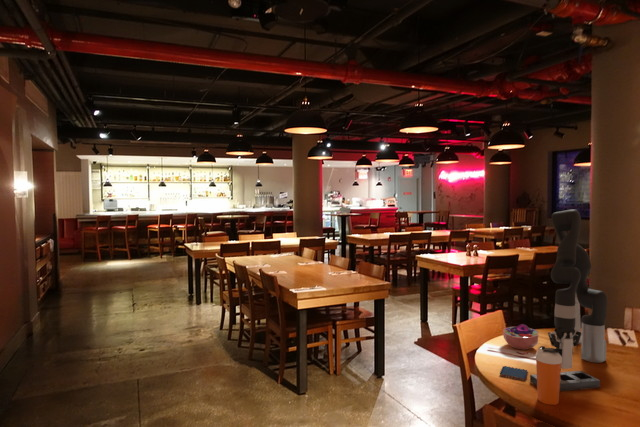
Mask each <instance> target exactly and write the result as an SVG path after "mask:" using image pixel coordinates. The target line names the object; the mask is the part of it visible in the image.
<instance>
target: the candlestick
mask: <svg viewBox="0 0 640 427" xmlns="http://www.w3.org/2000/svg"><path fill="white" fill-rule="evenodd" d="M575 309H576V324H575V328H574V329H575V330H576V331H579V332H581V333H582V322H581V305H580V304H579V302H578V299H577V295H575ZM575 341H576V340H575ZM579 344H580V345H581V336H580V340H579V343H578V345H579Z"/></svg>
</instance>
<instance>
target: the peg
mask: <svg viewBox="0 0 640 427" xmlns="http://www.w3.org/2000/svg"><path fill="white" fill-rule="evenodd" d="M558 339H559V338H558ZM559 340H560V341H561V339H559ZM572 347H573V339H569V338H568V339H563V344H562V348H561V349H562V363H561V369H563V370H565V369H568V370H569V369H573V355H572Z"/></svg>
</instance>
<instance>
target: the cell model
mask: <svg viewBox="0 0 640 427" xmlns="http://www.w3.org/2000/svg"><path fill="white" fill-rule="evenodd" d="M502 332H503V333H502V335H503V339H504V341H505V342H506V344H508V345H509V346H510V347H512V348H513V349H518V350H528V349H531V348H534V347H536V346H537V345H538V342H539V331H538V330H537V329H534V328H531V327H528V325H526V324H524V323H521V324H518V325H517V326H514V325H513V326H507V327H504V328H503V330H502Z"/></svg>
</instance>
